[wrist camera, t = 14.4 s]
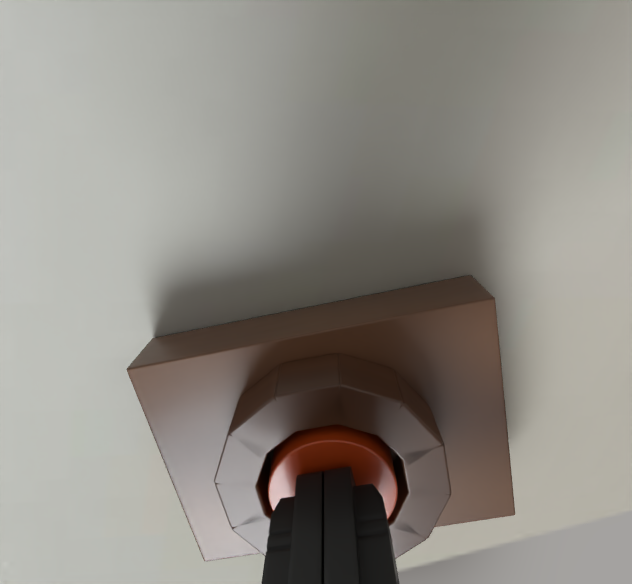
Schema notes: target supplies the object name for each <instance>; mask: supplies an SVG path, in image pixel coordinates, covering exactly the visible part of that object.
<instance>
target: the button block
mask: <svg viewBox="0 0 632 584" xmlns="http://www.w3.org/2000/svg"><path fill="white" fill-rule="evenodd" d="M127 372H128V374H129V377H130V379H131V382H132V384H133V387H134V389H135V391H136V394H137V396H138V399H139V401H140V404H141V406H142V409H143V411H144V414H145V416H146V419H147V421H148V423H149V426H150V428H151V431H152V433H153V436H154V438H155V441H156V443H157V446H158V448H159V451H160V453H161V455H162V458H163V460H164V463H165V465H166V468H167V470H168V473H169V475H170V478H171V480H172V482H173V485H174V487H175V490H176V492H177V495H178V497H179V500H180V502H181V505H182V507H183V510H184V512H185V514H186V517H187V519H188V522H189V524H190V527H191V529H192V532H193V534H194V537H195V539H196V542H197V544H198V546H199V549H200V551H201V554H202V556H203V559H204V561H211V560H218V559H225V558H231V557H238V556H245V555H251V554H258V553H262V554H263V555H264V556H266V552H267V541H268V536H269V527H270V520H271V514H272V513H273V510H272V507H271V505H270V502H269V498H268V483H269V476H270V470H271V464H272V458H273V452H274V448H275V447H276V446H278V445H279V444H280V443H282V442H283V441H284V440H286V439H287V438H288V437H289V436H291V435H292V434H293V433H295V432H296V431H301V430H307V429H313V428H318V427H324V426H330V425H336V424H338V425H342V426H345V427H349V428H353V429H356V430H360V431H363V432H367V433H370V434H374V435H377V436H378V437H379V438H380V439H381V440H382V441H383V442H384V443H386V444H387V445H388V446H389V447H390V451H391V456H392V461H393V466H394V470H395V475H396V480H397V486H398V497H397V501H396V505H395V507H394V510H393V512H392V513H391V515H390V517H389V518H388V524H389V528H390V533H391V537H392V543H393V549H394V555H395V559H396V558H397V557H399V556H401V555H402V554H404V553H405V552H407V551H409V550H410V549H412V548H413V547H415V546H417V545H418V544H420V543H421V542H423V541H425V540H426V539H427V538H429V536H430V534H431V532H432V530H433V528H434V527H438V526H445V525H452V524H458V523H465V522H472V521H478V520H485V519H492V518H498V517H505V516H512V515H515V507H514V496H513V486H512V475H511V464H510V454H509V443H508V432H507V422H506V411H505V400H504V390H503V379H502V368H501V358H500V347H499V336H498V326H497V315H496V304H495V298H494V297H493V296H492V295H491V294H490V293H489V292H488V291H487V290H486V289H485V288H484V287H483V286H482V285H481V284H480V283H479V282H478V281H477V280H475V279H474V278H473V277H472V276H471V275H468V276H463V277H458V278H453V279H448V280H443V281H438V282H433V283H428V284H423V285H418V286H413V287H408V288H403V289H398V290H393V291H388V292H383V293H378V294H373V295H368V296H363V297H358V298H353V299H347V300H342V301H337V302H332V303H327V304H322V305H317V306H312V307H307V308H302V309H297V310H292V311H287V312H282V313H277V314H272V315H267V316H262V317H257V318H252V319H247V320H242V321H237V322H232V323H227V324H222V325H217V326H212V327H207V328H202V329H197V330H192V331H187V332H182V333H176V334H171V335H166V336H161V337H156V338H153V339H152V340H151V341H150V342H149V343H148V344H147V346H146V347H145V348H144V349H143V350H142V351H141V353H140V354H139V355H138V356H137V357H136V359H135V360H134V361H133V362H132V363H131V364H130V366H129V367H128V368H127Z"/></svg>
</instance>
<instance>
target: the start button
mask: <svg viewBox="0 0 632 584" xmlns="http://www.w3.org/2000/svg"><path fill="white" fill-rule="evenodd" d="M348 466H351V468H352V472H353V476H354V481H355V485H356V486H359V485H365V484H371V483H373V485H374V486H375V487H376V489H377V490H378V491H379V493H380V494H381V495H382V497H383V500H384V505H385V510H386V514H387V519H388V518H389V517H390V515H391V513H392V512H393V510H394V507H395V505H396V501H397V497H398V486H397V480H396V475H395V470H394V466H393V461H392V456H391V451H390V447H389V446H388V445H387V444H386V443H384V442H383V441H382V440H381V439H380V438H379V437H378V436H377V435H374V434H370V433H367V432H363V431H360V430H356V429H353V428H349V427H345V426H342V425H338V424H336V425H330V426H324V427H318V428H313V429H307V430H301V431H296V432H295V433H293V434H292V435H291V436H289V437H288V438H287V439H286V440H284V441H283V442H282V443H280V444H279V445H278V446H276V447H275V448H274V452H273V458H272V464H271V470H270V476H269V483H268V498H269V502H270V505H271V507H272V510H273V511H274V509H275V507H276V506H277V504H278V502H279V500H280V499H281V498H286V497H292V496H295V488H296V477H297V475H301V474H307V473H313V472H319V471H325V470H330V469H336V468H342V467H348Z"/></svg>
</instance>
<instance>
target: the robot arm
mask: <svg viewBox="0 0 632 584" xmlns="http://www.w3.org/2000/svg"><path fill="white" fill-rule="evenodd" d="M262 584H399V579H398V573H397V567H396V561H395V555H394V549H393V543H392V537H391V533H390V528H389V524H388V519H387V514H386V510H385V505H384V500H383V497H382V495H381V494H380V493H379V491H378V490H377V489H376V487H375V486H374V485H373V483H371V484H365V485H359V486H356V485H355V481H354V476H353V472H352V468H351V466H348V467H342V468H336V469H330V470H325V471H319V472H313V473H307V474H301V475H297V477H296V488H295V496H292V497H286V498H281V499H280V500H279V502H278V504H277V506H276V507H275V509H274V511H273V513H272V514H271V520H270V527H269V536H268V541H267V552H266V556H265V563H264V570H263V577H262Z"/></svg>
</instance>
